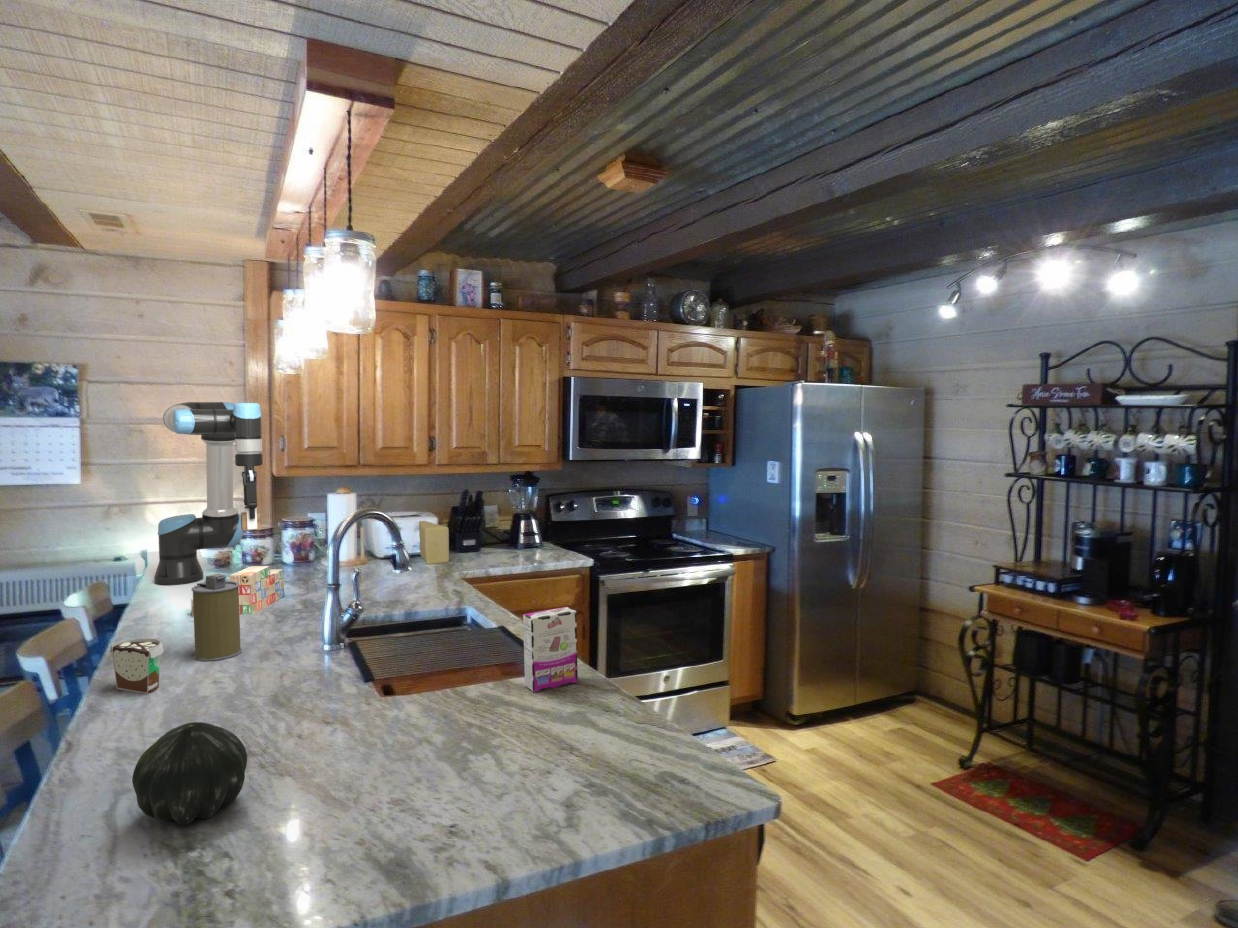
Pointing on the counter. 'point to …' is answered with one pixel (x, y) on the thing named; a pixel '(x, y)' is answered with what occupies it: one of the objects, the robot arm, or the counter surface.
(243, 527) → the walnut cube
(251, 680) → the counter surface
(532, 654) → the candy bar box
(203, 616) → the canister
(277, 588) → the stack of blocks
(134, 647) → the food container
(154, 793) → the squash
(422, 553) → the cheese
